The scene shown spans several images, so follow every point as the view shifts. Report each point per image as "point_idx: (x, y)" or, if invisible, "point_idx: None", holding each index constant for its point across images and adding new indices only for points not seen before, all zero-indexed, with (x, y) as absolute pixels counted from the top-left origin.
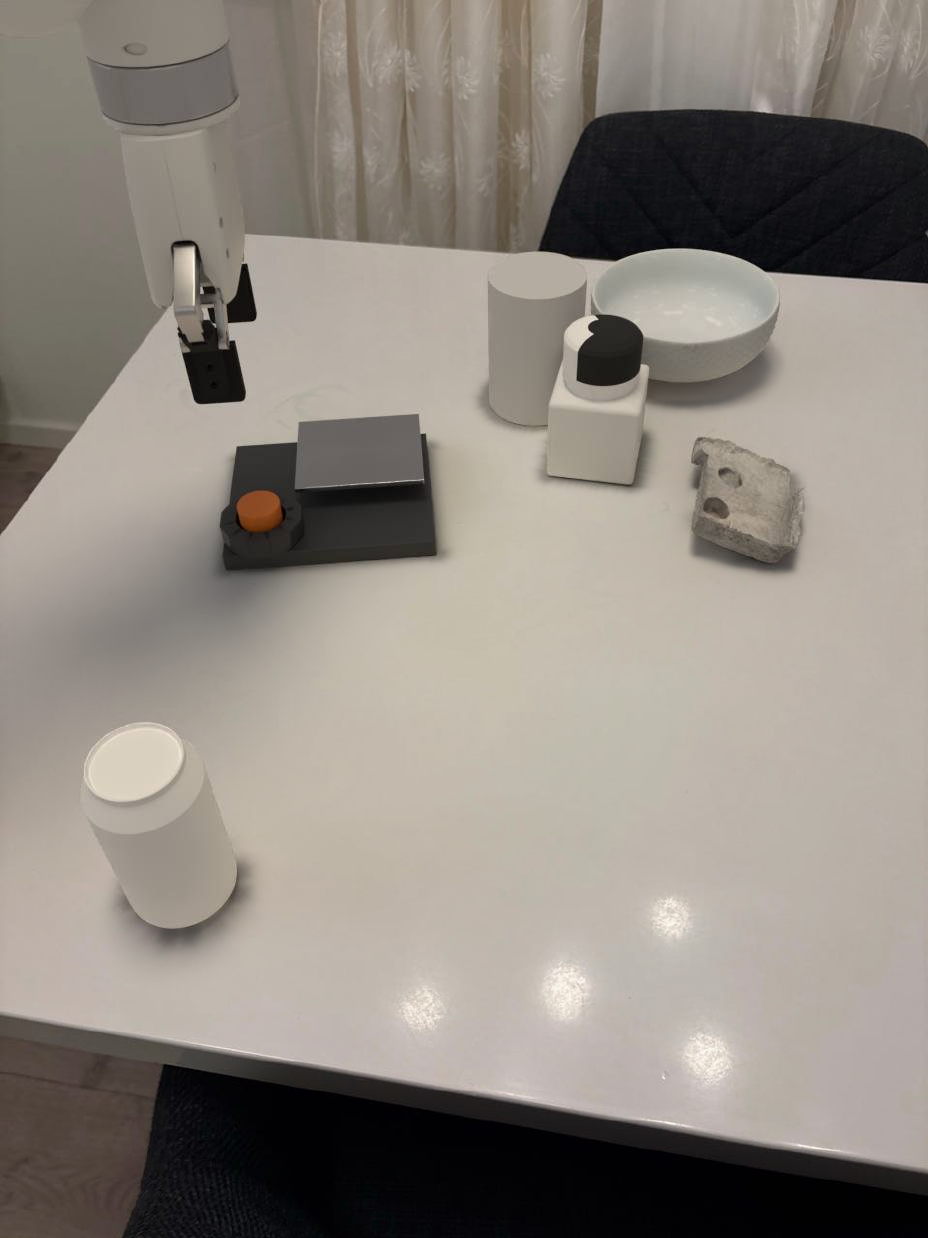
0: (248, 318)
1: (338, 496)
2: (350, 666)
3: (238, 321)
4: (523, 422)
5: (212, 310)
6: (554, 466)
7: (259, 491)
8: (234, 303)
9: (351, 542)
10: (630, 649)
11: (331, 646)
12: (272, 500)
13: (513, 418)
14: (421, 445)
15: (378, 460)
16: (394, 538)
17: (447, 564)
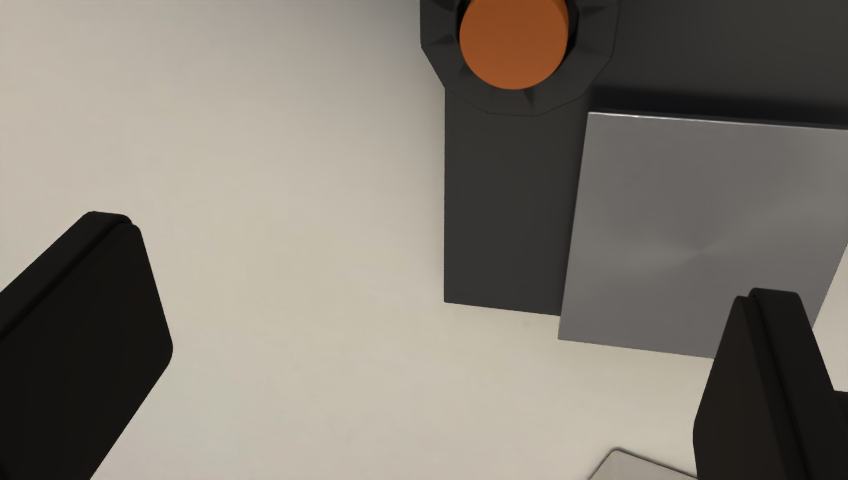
0: (699, 424)
1: None
2: (201, 135)
3: (708, 383)
4: None
5: (748, 350)
6: (607, 471)
7: (562, 42)
8: (719, 457)
9: (458, 180)
10: (259, 430)
11: (241, 109)
12: (519, 73)
13: None
14: None
15: (645, 280)
16: (459, 247)
17: (425, 292)
